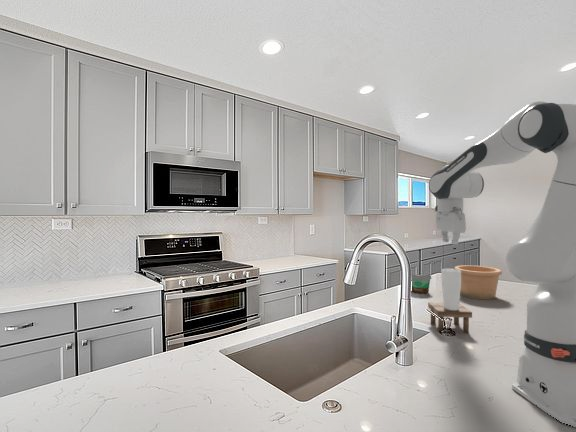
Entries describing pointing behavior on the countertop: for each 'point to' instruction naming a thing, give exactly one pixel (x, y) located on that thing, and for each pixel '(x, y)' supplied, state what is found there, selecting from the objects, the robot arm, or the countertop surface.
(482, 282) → the pottery
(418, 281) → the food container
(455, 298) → the drinking glass
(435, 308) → the walnut stool
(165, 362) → the countertop surface
